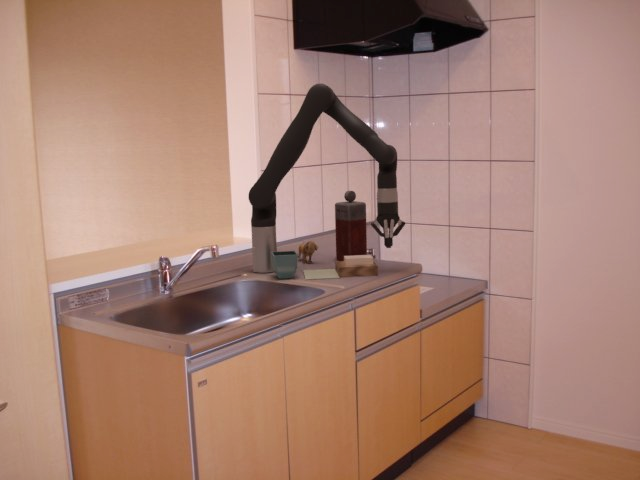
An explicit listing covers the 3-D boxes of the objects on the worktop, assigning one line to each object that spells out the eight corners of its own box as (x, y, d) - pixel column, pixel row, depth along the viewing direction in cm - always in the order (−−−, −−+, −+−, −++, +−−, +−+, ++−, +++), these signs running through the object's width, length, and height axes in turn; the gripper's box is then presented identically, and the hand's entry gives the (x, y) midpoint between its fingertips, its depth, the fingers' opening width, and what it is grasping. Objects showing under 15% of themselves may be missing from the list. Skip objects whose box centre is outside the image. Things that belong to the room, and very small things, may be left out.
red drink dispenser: (349, 256, 297) (348, 189, 292) (367, 260, 288) (366, 190, 283) (332, 259, 291) (330, 190, 287) (349, 263, 283) (348, 192, 278)
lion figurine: (320, 263, 285) (319, 240, 283) (308, 265, 282) (308, 242, 281) (302, 258, 297) (301, 236, 296) (290, 259, 295) (290, 237, 293)
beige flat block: (346, 265, 260) (345, 258, 260) (344, 262, 266) (343, 255, 266) (373, 264, 261) (373, 257, 261) (370, 261, 267) (370, 254, 266)
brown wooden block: (338, 277, 257) (338, 267, 257) (335, 270, 269) (335, 261, 269) (377, 275, 259) (377, 265, 258) (372, 268, 270) (372, 259, 270)
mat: (305, 279, 255) (305, 279, 254) (303, 271, 270) (302, 270, 270) (339, 278, 256) (339, 277, 255) (334, 269, 271) (334, 268, 271)
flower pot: (295, 274, 265) (294, 250, 263) (299, 279, 256) (298, 254, 255) (271, 275, 263) (270, 251, 262) (274, 280, 255) (273, 255, 253)
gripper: (371, 202, 257) (372, 250, 259) (407, 200, 258) (408, 248, 260) (367, 200, 264) (369, 247, 267) (403, 198, 265) (404, 245, 268)
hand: (388, 247), depth 264 cm, fingers closed
